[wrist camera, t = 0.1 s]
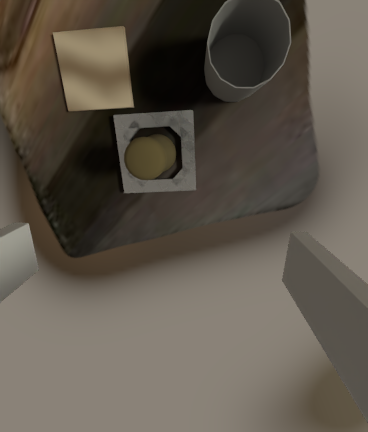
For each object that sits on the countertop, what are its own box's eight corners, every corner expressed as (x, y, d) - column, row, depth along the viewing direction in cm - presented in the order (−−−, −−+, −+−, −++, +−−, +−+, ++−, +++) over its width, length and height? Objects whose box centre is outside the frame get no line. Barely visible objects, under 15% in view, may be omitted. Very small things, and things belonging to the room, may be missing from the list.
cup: (216, 111, 35) (224, 102, 25) (194, 54, 32) (194, 19, 23) (271, 85, 33) (301, 64, 24) (252, 22, 31) (277, -28, 21)
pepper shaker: (141, 173, 38) (121, 187, 28) (136, 135, 36) (112, 134, 26) (177, 171, 38) (170, 184, 27) (174, 132, 36) (165, 130, 26)
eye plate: (115, 115, 36) (113, 115, 35) (193, 110, 35) (193, 110, 34) (126, 191, 39) (124, 193, 38) (196, 188, 39) (196, 190, 38)
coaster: (55, 34, 32) (52, 32, 32) (124, 28, 32) (123, 26, 31) (70, 111, 36) (68, 111, 35) (133, 107, 35) (132, 106, 34)
